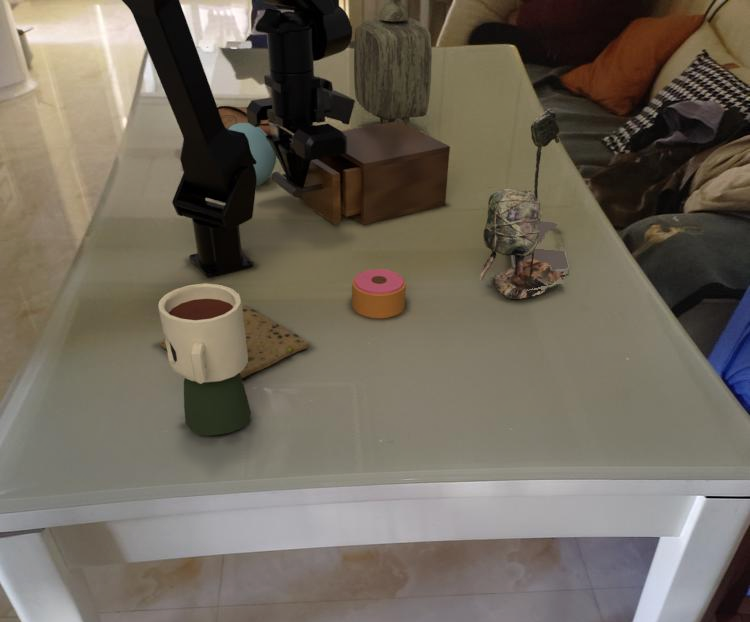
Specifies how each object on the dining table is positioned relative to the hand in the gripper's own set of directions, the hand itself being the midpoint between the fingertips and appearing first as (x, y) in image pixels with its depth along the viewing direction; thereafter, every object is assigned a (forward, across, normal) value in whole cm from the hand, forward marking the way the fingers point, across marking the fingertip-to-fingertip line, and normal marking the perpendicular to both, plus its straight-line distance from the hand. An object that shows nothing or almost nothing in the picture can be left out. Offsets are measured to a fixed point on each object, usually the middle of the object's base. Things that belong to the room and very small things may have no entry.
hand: (298, 190), depth 107 cm
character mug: (+4, -40, +30) cm, 50 cm away
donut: (+4, -28, +4) cm, 29 cm away
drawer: (+3, 0, -7) cm, 7 cm away
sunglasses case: (+4, +37, -12) cm, 39 cm away
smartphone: (+4, -26, -23) cm, 35 cm away
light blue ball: (+4, +17, +2) cm, 18 cm away
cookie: (+4, -28, +23) cm, 36 cm away
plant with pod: (+4, -33, -14) cm, 36 cm away
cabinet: (+4, 0, -14) cm, 15 cm away
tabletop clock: (+4, +26, -32) cm, 42 cm away
